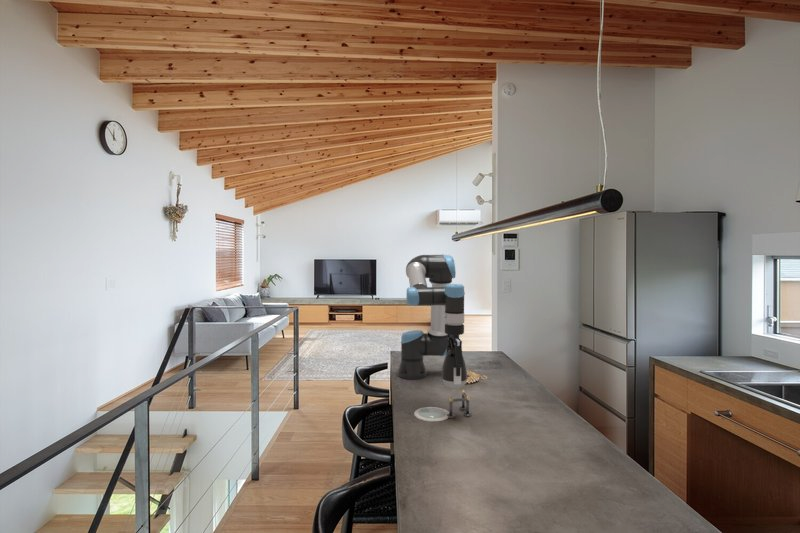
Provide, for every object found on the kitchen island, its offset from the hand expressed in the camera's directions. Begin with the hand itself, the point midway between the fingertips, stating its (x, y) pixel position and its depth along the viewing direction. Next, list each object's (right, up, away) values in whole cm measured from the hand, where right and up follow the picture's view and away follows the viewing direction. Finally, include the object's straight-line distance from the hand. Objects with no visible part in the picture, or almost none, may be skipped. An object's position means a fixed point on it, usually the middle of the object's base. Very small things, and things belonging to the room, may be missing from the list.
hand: (454, 379), depth 167 cm
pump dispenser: (0, -3, 0) cm, 3 cm away
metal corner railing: (+2, -14, +4) cm, 15 cm away
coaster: (-8, -15, +2) cm, 17 cm away
